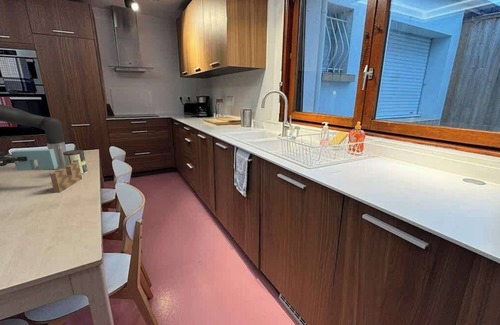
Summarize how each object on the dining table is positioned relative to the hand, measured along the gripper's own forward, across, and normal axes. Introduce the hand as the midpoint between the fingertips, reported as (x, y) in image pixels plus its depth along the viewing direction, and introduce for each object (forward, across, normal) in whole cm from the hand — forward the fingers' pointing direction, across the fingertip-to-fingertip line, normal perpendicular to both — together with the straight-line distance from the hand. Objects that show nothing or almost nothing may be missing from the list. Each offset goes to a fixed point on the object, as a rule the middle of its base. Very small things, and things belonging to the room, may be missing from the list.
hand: (29, 157), depth 124 cm
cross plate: (+3, 0, +6) cm, 7 cm away
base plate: (+16, 0, +16) cm, 23 cm away
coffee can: (+9, +21, +16) cm, 28 cm away
